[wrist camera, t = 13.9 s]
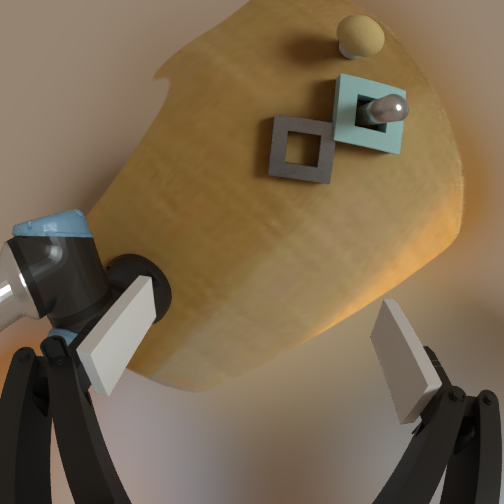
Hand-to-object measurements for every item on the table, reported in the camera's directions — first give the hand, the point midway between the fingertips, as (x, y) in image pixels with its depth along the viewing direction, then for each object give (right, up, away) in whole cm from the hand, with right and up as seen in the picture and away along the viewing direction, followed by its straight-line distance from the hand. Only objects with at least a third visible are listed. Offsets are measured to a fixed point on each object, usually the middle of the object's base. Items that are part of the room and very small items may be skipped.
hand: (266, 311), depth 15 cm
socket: (+16, +24, +21) cm, 36 cm away
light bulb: (+14, +34, +17) cm, 41 cm away
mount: (+7, +19, +24) cm, 31 cm away
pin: (+16, +24, +21) cm, 36 cm away
